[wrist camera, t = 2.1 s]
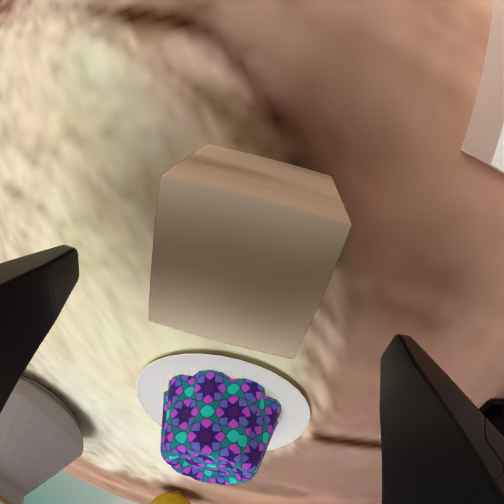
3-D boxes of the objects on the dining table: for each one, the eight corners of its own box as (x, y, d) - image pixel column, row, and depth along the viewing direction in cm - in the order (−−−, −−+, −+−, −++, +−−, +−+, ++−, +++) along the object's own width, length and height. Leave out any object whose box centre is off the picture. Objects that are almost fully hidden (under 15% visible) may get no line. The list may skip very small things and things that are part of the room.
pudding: (348, 399, 19) (353, 469, 14) (246, 457, 24) (237, 508, 20) (183, 309, 17) (149, 385, 12) (120, 397, 22) (95, 449, 17)
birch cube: (295, 279, 15) (293, 359, 10) (189, 250, 15) (148, 320, 10) (330, 175, 12) (351, 225, 8) (208, 143, 12) (160, 175, 8)
